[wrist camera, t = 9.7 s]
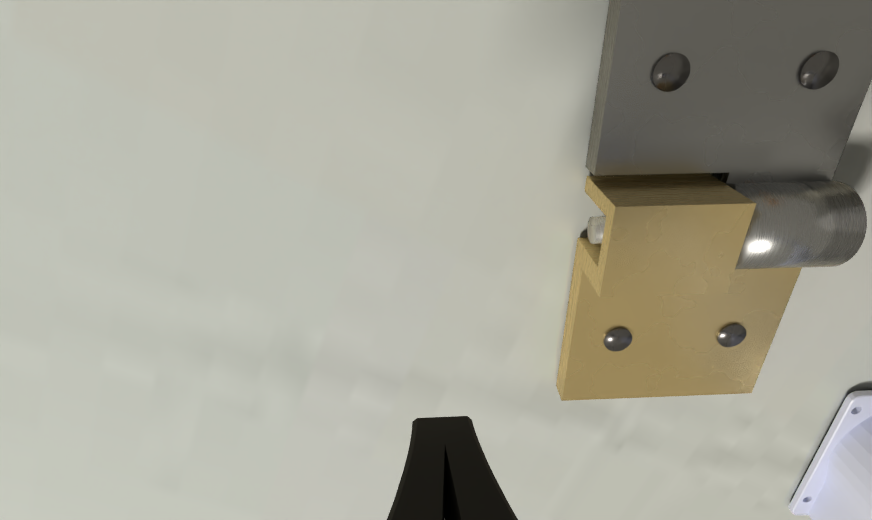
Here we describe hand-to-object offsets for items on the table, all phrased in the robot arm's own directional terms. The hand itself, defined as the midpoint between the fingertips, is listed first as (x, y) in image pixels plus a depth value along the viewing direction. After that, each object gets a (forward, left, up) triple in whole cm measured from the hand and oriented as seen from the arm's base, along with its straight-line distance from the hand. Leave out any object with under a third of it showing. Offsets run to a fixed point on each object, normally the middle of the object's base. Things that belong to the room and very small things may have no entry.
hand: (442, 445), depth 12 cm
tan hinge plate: (-2, -10, -9) cm, 14 cm away
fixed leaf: (+6, -11, -9) cm, 15 cm away
